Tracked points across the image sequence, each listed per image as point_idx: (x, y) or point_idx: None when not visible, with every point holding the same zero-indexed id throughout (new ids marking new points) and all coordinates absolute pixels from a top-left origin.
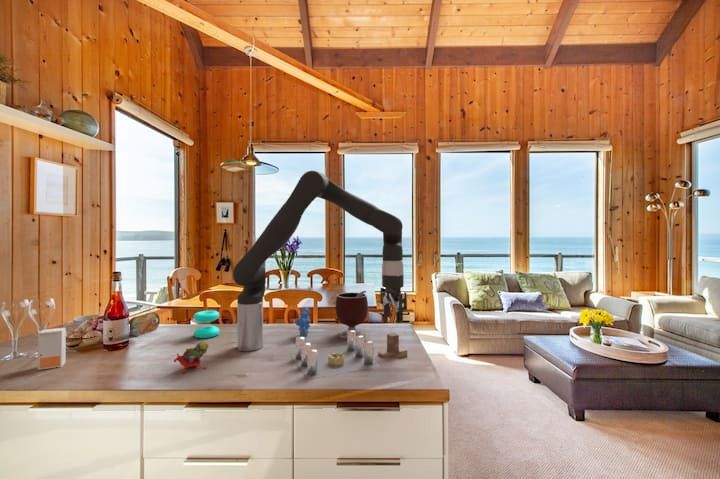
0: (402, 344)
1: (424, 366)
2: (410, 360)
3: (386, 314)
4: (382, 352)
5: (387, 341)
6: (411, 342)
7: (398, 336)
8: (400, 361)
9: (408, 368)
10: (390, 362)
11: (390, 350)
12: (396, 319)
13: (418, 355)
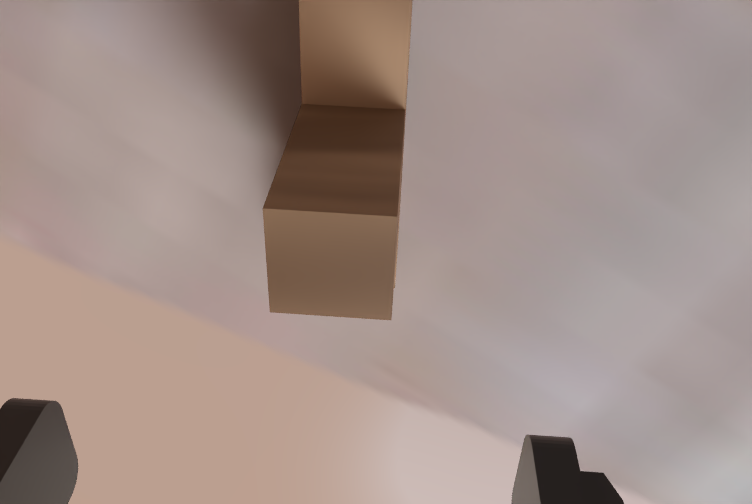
0: (605, 375)
1: (38, 228)
2: (205, 211)
3: (527, 500)
4: (367, 21)
5: (389, 162)
6: (595, 451)
7: (274, 298)
8: (214, 120)
9: (21, 84)
10: (225, 13)
11: (318, 115)
12: (10, 437)
13: (289, 328)
